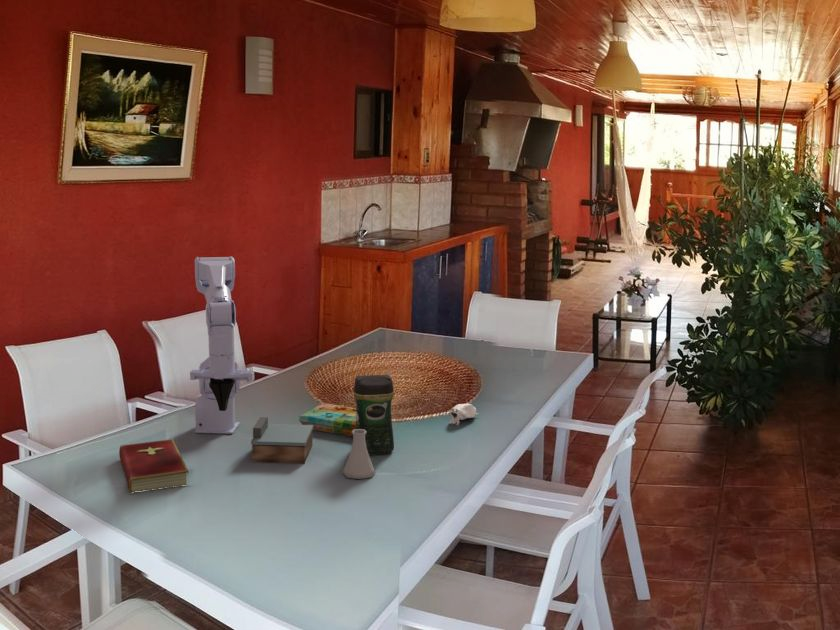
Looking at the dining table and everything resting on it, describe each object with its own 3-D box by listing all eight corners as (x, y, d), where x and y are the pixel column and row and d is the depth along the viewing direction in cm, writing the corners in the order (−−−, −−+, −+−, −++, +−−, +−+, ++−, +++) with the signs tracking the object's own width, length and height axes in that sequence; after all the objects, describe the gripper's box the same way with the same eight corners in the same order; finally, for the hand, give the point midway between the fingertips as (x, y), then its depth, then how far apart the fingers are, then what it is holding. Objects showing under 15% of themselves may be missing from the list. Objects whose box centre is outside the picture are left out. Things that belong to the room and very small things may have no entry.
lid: (251, 444, 196) (250, 431, 195) (262, 426, 208) (262, 414, 207) (305, 446, 195) (305, 432, 195) (313, 428, 208) (313, 415, 207)
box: (252, 462, 197) (252, 445, 196) (263, 443, 208) (262, 428, 208) (304, 463, 196) (304, 447, 196) (312, 445, 208) (312, 429, 207)
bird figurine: (467, 432, 225) (481, 412, 233) (461, 409, 222) (475, 390, 231) (450, 432, 227) (464, 413, 235) (444, 409, 225) (458, 391, 233)
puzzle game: (322, 400, 229) (389, 410, 222) (322, 417, 230) (389, 428, 223) (299, 412, 219) (369, 424, 211) (299, 430, 220) (369, 442, 212)
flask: (342, 467, 195) (342, 425, 192) (374, 467, 195) (375, 425, 193) (342, 480, 187) (342, 437, 185) (375, 480, 188) (376, 436, 186)
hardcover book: (129, 496, 178) (128, 477, 177) (119, 461, 196) (118, 444, 196) (188, 488, 183) (188, 469, 182) (173, 455, 201) (172, 437, 201)
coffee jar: (390, 443, 211) (391, 370, 207) (396, 455, 203) (397, 379, 199) (351, 445, 209) (351, 371, 205) (355, 457, 201) (355, 380, 197)
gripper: (185, 356, 194) (187, 414, 197) (249, 358, 194) (250, 415, 197) (194, 349, 201) (196, 404, 204) (255, 350, 201) (256, 406, 204)
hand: (223, 409), depth 201 cm, fingers closed
